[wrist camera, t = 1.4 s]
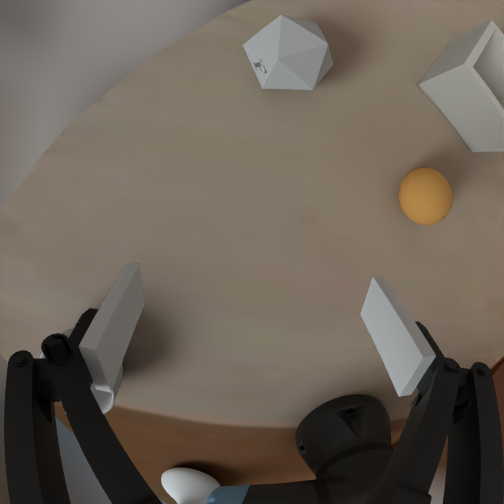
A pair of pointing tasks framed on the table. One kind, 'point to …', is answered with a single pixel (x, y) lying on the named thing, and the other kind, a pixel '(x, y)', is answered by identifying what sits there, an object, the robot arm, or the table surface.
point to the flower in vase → (188, 485)
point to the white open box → (471, 87)
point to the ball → (425, 196)
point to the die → (289, 54)
